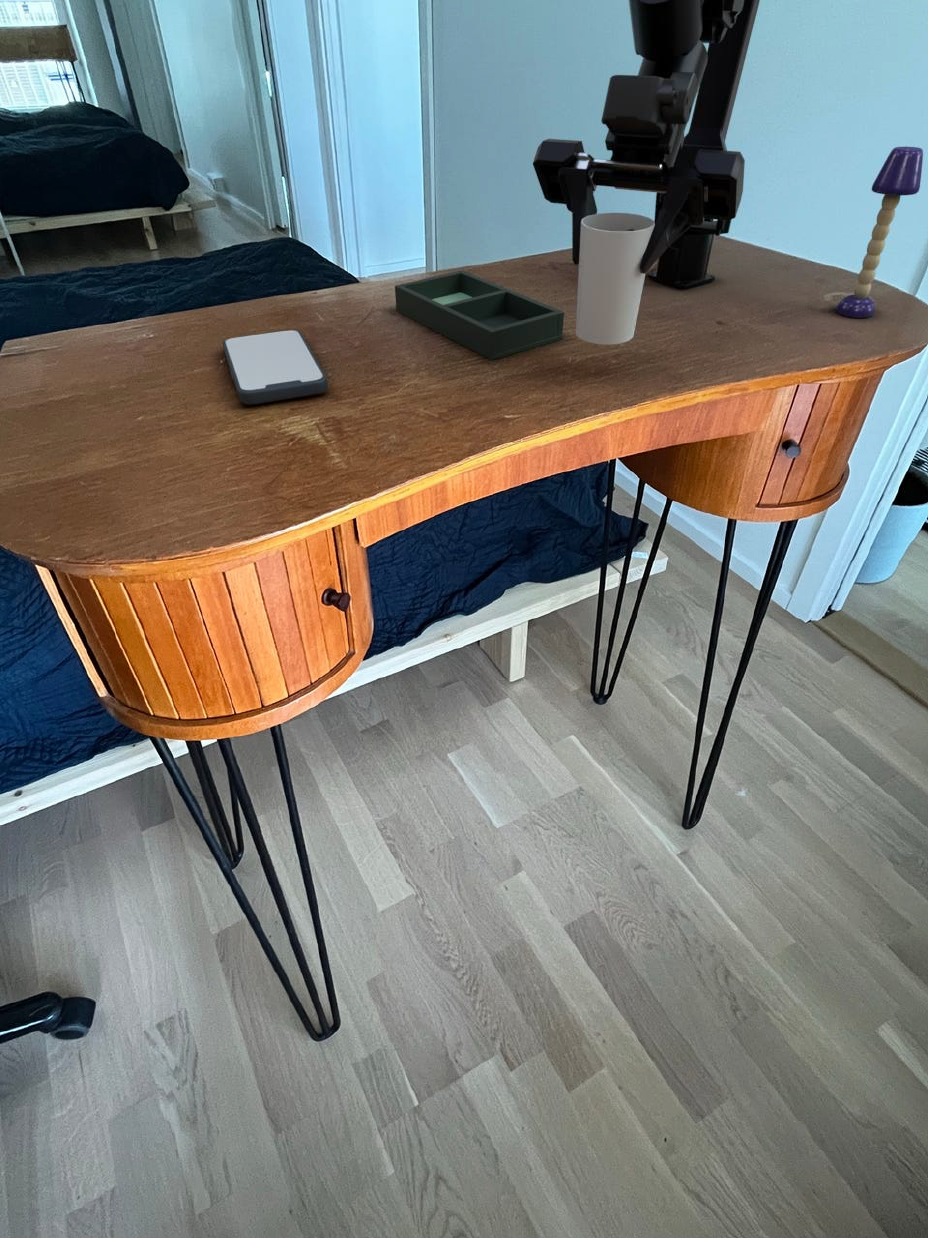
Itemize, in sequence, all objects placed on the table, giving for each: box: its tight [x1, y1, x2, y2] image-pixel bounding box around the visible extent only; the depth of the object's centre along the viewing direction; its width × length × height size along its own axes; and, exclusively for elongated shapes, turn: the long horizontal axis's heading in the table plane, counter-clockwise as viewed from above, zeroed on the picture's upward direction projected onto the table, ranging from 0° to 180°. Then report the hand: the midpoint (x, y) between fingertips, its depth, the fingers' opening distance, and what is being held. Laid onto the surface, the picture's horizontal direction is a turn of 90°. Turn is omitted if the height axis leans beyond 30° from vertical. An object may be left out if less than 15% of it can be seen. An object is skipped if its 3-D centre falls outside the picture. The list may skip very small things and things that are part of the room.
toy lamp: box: [835, 146, 924, 319], centre depth 80 cm, size 5×5×17 cm
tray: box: [394, 269, 565, 361], centre depth 83 cm, size 10×19×3 cm, turn 36°
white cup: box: [575, 212, 655, 346], centre depth 67 cm, size 7×7×10 cm
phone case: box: [222, 329, 329, 406], centre depth 74 cm, size 9×2×16 cm
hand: (607, 266), depth 66 cm, fingers closed on white cup, 6 cm apart
